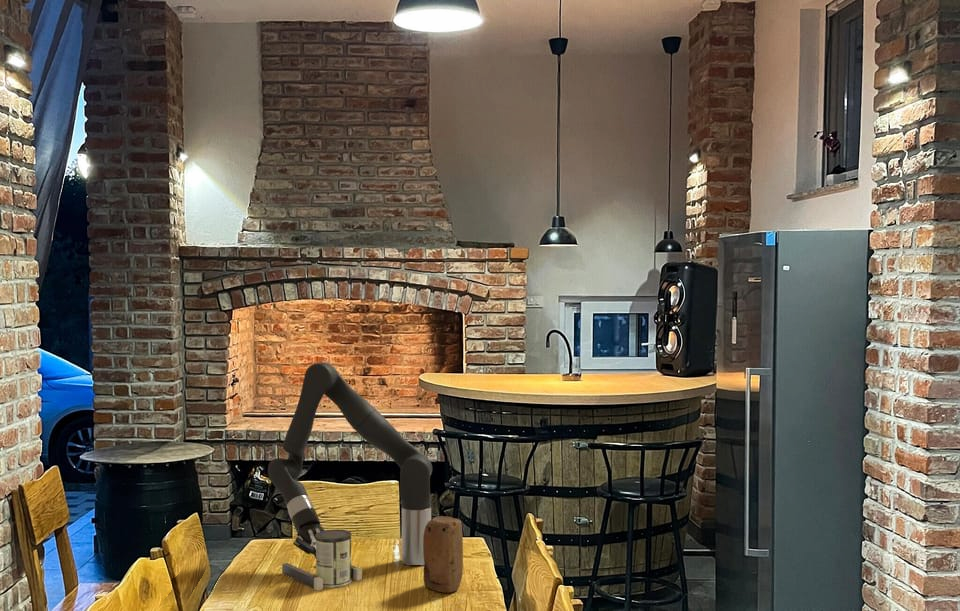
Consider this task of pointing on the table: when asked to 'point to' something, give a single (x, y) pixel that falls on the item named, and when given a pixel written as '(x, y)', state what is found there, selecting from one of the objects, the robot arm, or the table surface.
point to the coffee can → (333, 557)
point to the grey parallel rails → (312, 579)
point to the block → (443, 554)
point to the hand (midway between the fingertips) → (323, 563)
